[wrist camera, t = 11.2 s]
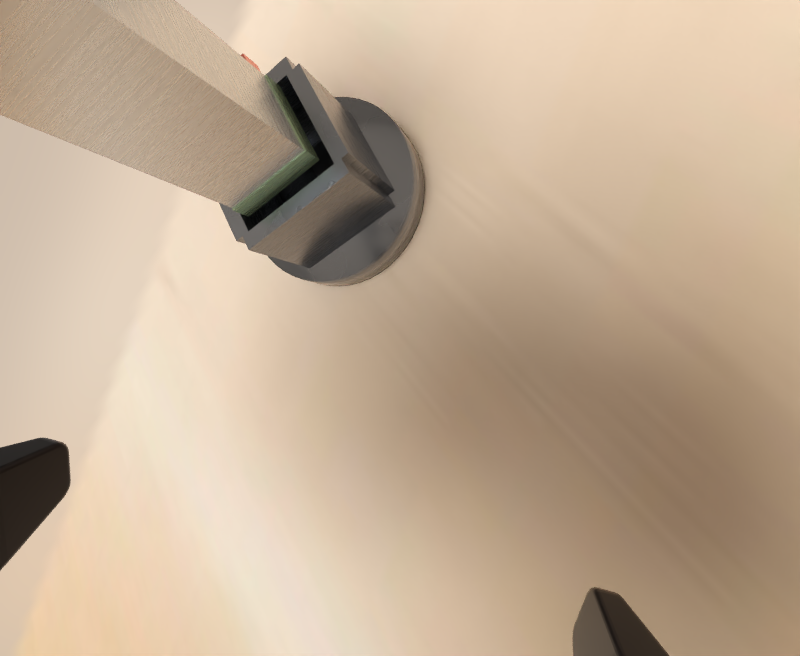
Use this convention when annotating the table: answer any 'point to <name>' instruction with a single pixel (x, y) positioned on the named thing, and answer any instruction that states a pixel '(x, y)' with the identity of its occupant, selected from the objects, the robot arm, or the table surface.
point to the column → (151, 96)
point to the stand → (338, 190)
